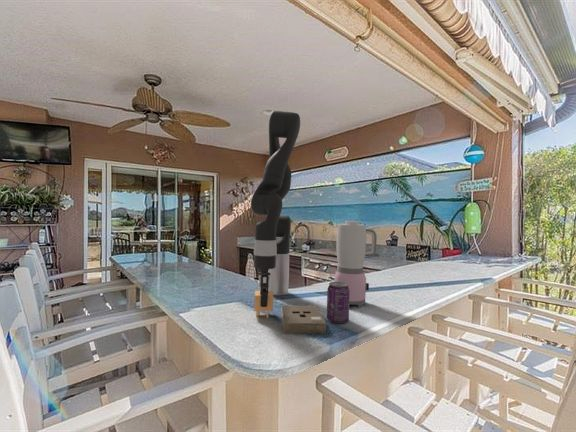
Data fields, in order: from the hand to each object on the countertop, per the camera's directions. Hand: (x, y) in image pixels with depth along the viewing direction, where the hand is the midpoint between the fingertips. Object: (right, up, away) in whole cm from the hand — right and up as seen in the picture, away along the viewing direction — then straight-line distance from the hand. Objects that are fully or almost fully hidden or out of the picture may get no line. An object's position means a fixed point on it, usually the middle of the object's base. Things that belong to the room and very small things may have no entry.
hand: (263, 303), depth 100 cm
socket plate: (+12, -5, -6) cm, 14 cm away
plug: (0, -4, 0) cm, 4 cm away
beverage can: (+24, -5, -3) cm, 25 cm away
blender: (+34, -5, +17) cm, 38 cm away
